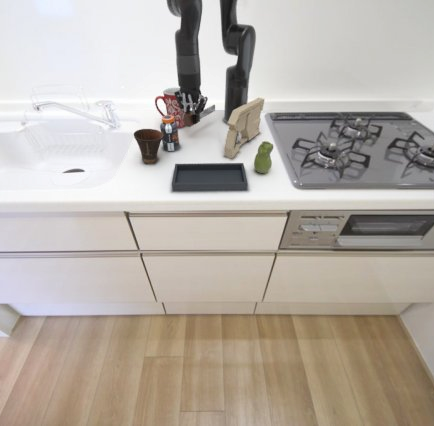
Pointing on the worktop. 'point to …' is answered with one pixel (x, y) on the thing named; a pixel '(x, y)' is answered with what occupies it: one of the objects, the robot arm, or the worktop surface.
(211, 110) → the knife
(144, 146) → the cup
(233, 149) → the gun
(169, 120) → the pill bottle
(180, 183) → the dark grey tray
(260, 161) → the pear
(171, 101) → the mug
